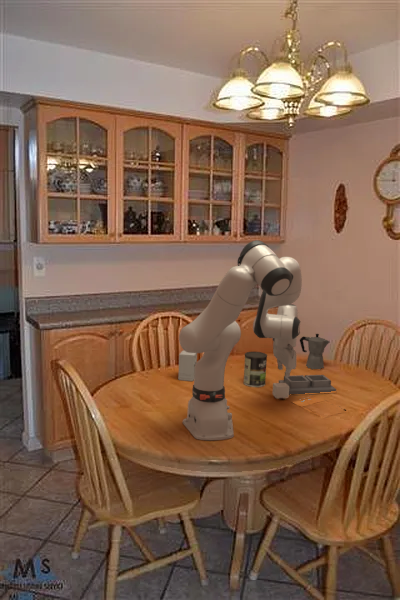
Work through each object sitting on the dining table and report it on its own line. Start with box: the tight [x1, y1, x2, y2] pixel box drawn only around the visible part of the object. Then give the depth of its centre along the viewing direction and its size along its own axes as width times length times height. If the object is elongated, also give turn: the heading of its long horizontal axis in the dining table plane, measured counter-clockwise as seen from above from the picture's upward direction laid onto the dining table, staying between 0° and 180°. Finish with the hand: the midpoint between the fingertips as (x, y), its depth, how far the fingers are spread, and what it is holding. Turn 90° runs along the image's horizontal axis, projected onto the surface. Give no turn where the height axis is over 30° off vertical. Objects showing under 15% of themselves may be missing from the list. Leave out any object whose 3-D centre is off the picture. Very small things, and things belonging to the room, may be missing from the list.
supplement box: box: [177, 349, 198, 382], centre depth 234 cm, size 7×7×13 cm
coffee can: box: [243, 351, 268, 388], centre depth 230 cm, size 10×10×14 cm
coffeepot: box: [299, 333, 331, 370], centre depth 258 cm, size 15×9×18 cm, turn 67°
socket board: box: [278, 374, 337, 396], centre depth 226 cm, size 14×22×5 cm, turn 100°
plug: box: [271, 382, 290, 400], centre depth 213 cm, size 5×6×6 cm
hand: (283, 372), depth 211 cm, fingers open, 8 cm apart
